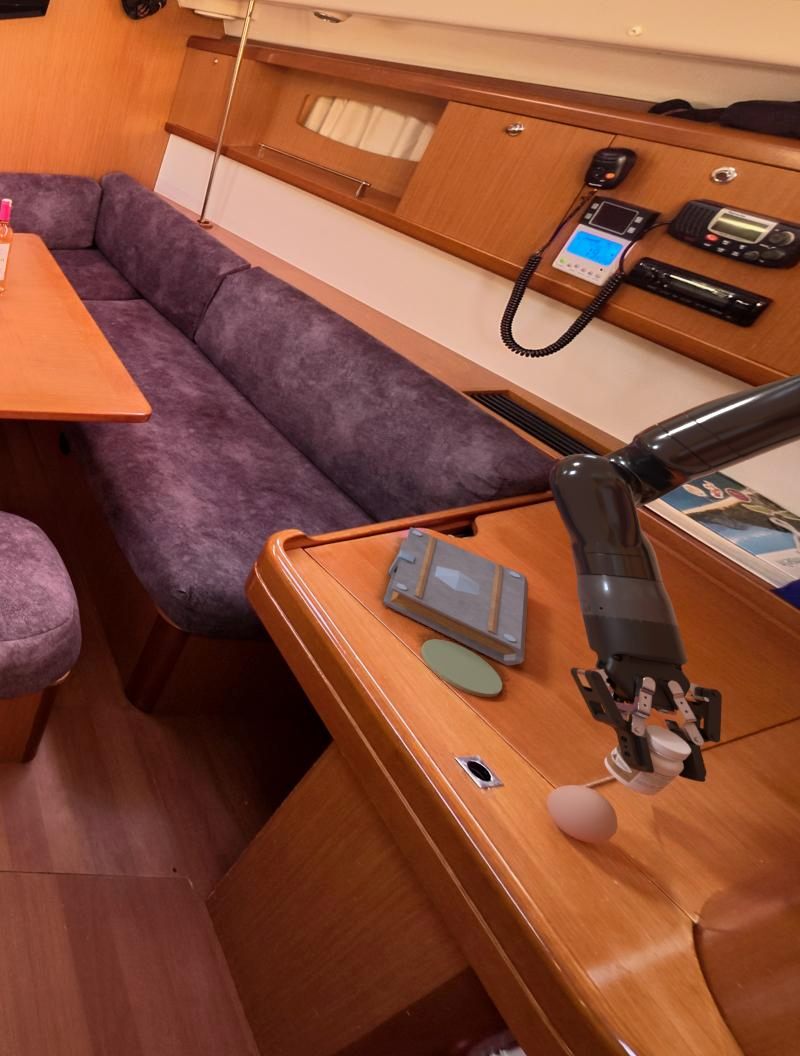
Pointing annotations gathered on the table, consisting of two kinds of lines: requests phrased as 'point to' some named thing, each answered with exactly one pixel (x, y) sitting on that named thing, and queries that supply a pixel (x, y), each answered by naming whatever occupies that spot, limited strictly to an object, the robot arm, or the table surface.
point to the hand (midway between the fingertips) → (666, 774)
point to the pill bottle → (665, 760)
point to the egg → (582, 813)
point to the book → (460, 596)
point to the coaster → (461, 668)
